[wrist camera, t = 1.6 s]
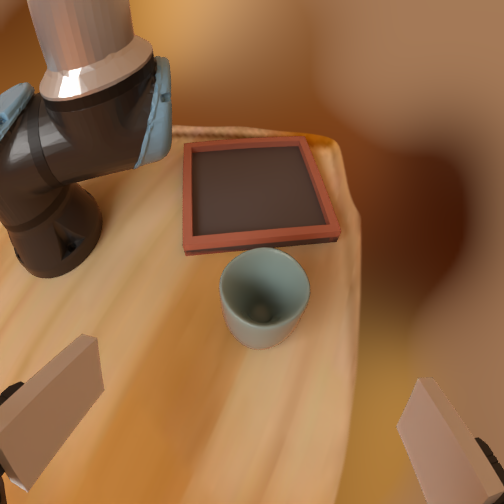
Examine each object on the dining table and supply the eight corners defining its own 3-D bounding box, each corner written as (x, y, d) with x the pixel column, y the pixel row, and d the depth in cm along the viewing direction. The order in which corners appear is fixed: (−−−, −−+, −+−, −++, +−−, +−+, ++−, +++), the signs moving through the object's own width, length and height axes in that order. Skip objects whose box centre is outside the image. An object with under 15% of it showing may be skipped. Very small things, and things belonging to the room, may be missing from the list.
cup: (211, 315, 35) (202, 274, 27) (266, 281, 38) (274, 232, 30) (251, 370, 32) (254, 346, 24) (307, 331, 35) (328, 294, 26)
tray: (185, 154, 50) (184, 143, 48) (302, 147, 52) (304, 136, 50) (185, 255, 40) (182, 245, 38) (336, 241, 42) (341, 231, 39)
